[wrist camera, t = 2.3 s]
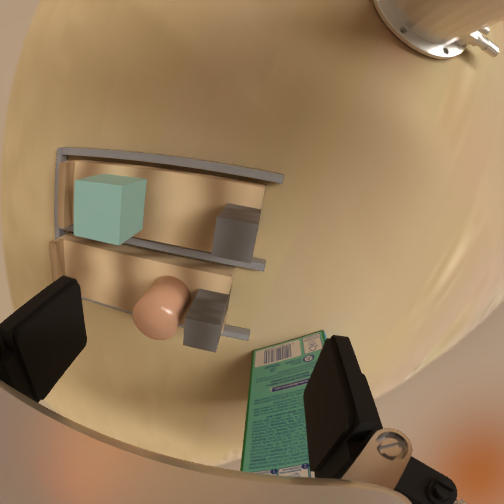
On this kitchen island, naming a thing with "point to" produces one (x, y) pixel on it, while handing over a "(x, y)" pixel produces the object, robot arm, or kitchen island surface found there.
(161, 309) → the rounded peach cylinder
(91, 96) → the kitchen island surface
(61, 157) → the lane frame
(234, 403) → the kitchen island surface
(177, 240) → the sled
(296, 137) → the kitchen island surface
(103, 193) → the teal cube
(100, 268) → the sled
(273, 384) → the milk carton
